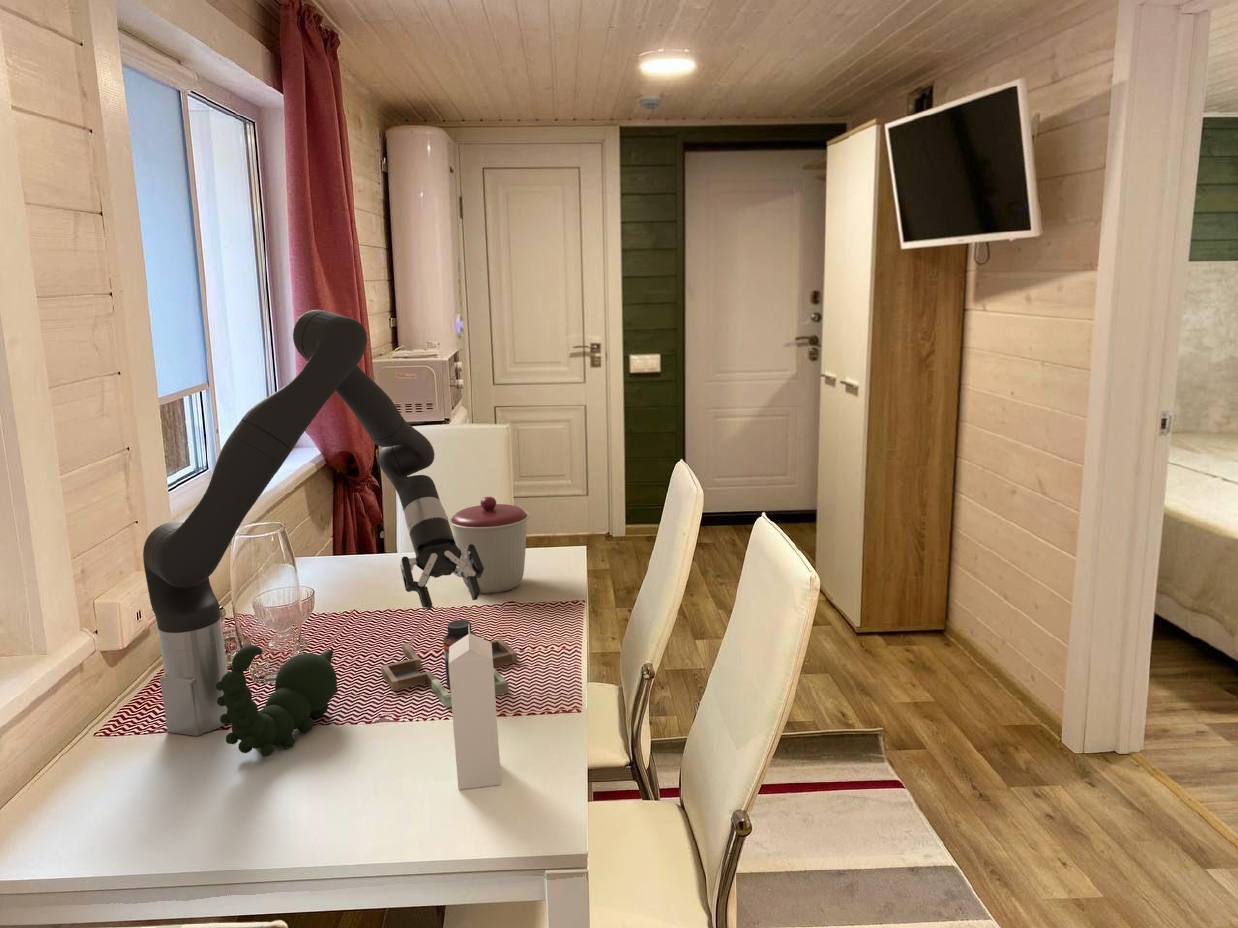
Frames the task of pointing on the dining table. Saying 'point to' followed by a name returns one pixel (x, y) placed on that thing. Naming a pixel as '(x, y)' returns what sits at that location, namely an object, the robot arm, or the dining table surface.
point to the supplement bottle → (454, 639)
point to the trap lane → (409, 676)
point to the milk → (474, 712)
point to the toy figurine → (276, 700)
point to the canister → (494, 542)
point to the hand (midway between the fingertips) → (452, 602)
